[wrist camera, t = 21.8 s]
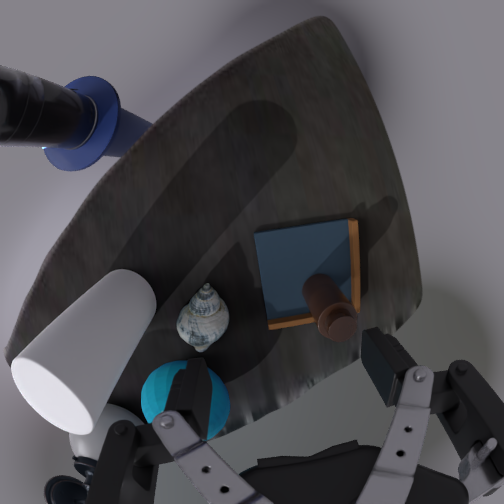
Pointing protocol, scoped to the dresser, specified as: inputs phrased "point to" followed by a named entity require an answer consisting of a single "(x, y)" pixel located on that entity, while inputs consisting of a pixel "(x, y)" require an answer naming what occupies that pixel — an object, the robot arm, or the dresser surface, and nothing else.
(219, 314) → the seashell
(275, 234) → the corner mat
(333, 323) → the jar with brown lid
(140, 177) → the dresser surface
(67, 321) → the tall pillar cylinder
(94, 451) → the light fixture
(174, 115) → the dresser surface
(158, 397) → the decorative orb
